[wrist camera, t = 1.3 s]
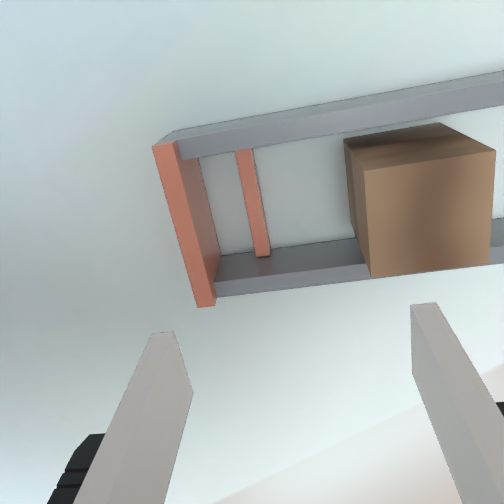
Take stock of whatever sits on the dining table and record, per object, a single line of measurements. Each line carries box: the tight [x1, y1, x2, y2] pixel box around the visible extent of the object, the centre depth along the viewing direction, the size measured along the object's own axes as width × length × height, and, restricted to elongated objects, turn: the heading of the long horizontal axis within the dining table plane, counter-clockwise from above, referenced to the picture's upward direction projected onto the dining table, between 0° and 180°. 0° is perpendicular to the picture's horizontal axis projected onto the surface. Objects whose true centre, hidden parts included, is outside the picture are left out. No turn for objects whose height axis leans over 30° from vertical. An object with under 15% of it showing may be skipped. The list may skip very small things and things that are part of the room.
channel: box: [152, 71, 504, 308], centre depth 26 cm, size 24×11×5 cm, turn 101°
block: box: [344, 122, 496, 278], centre depth 25 cm, size 6×6×8 cm
